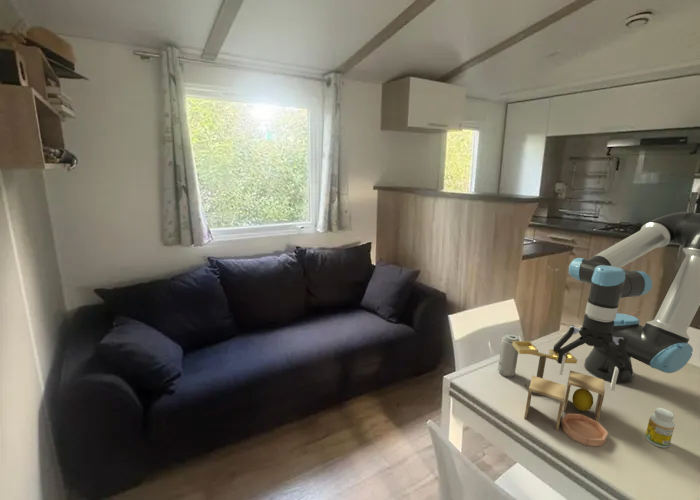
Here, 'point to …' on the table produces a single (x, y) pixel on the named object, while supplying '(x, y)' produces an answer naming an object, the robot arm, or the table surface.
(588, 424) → the saucer
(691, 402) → the table surface
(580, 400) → the lemon
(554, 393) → the oak cover
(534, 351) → the balance
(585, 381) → the oak cover
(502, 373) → the energy drink can
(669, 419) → the supplement bottle
